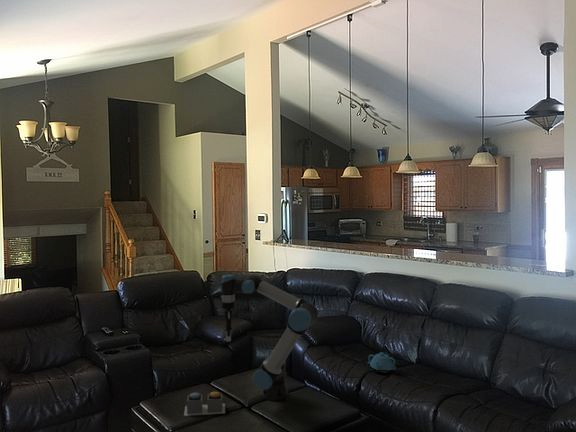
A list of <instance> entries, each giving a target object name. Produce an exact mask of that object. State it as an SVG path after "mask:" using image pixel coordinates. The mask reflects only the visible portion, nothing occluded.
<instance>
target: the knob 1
mask: <svg viewBox="0 0 576 432" xmlns="http://www.w3.org/2000/svg"><path fill="white" fill-rule="evenodd" d="M189 395H190V398H191V400H199V397H200V392H192V393H190V394H189Z"/></svg>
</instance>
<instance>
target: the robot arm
mask: <svg viewBox="0 0 576 432" xmlns="http://www.w3.org/2000/svg"><path fill="white" fill-rule="evenodd" d="M235 277H236V276H235V275H234V274H223V275H222V276H221V296H220V298H221V301H222V302H221V308H222V310H224V316H225V330H224V331H225V341H226V343H228V342H231V341H232V330H233V328H232V316H233V309H235V306H236V305H235V304H236V303H235V301H236V300H235V299H236V296H235V295H236V294H235V293H242V294H253V292H254V291H255V292H257V293H260V294H261V295H263V296H265V297H267V298H269V299H271V300H272V301H274V302H276V303H278V304H280V305H282V306H284V307H286V308H287V309H289V310H291V312H290V314H289V316H288V320H287V322H286V329H285V330H284V332H283V334H282V335H281V337H280V339H279V340H278V341H277V343H276V346H274V349H273V350H272V352H271V353H270V355H269V356H267V357H265V359H264V360H263V361H262V363H261V364H260V365H259V368H258V369H256V370H255V372H254V373H253V375H252V380H253V383H254V385H255V386H256V387H257V388H258V389H260V390H262V397H263V398H264V399H265V400H268V401H275V402H276V401H278V400H279V401H283V400H286V399H287V398H288V397H289V390H288V388H287V384H286V364H287V363H286V359H287V358H288V357H289V355H290V353H291V352H292V350H293V348H294V347H295V345H296V344H297V342H298V341H299V339H300V337H301V336H302V337H303V336H305V334H306V333H307V331H308V329H309V328H310V326H312V325H313V324H314V323H315V322H316V321H317V320H318V317H319V310H318V309H317V307H316V305H314V304H313V303H312V302H310V301H308V300H306V299H304V298H298V297H296V296H294V295H292V294H290V293H289V292H287V291H284V290H282V289H280V288H279V287H277V286H275V285H273V284H271V283H269V282H268V281H265V280H263V279H262V277H261V276H260V275H258V274H254V275H251V276H249V277H245V278H243V279H237V278H235ZM285 398H286V399H285Z"/></svg>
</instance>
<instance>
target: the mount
mask: <svg viewBox="0 0 576 432" xmlns="http://www.w3.org/2000/svg"><path fill="white" fill-rule="evenodd" d="M219 393H220V396H219V399H211V397H210V393H207V404H203V394H202V393H201V394H200V393H199V394H200V397H199V400H191V398H190V394H187V397H186V398H187V399H186V405H185V406H184V411H183V412H184V413H183V416H184V417H186V416H187V417H188V416H200V415H204V416H205V415H219V414H226V404H225V403H223V393H221V392H219Z"/></svg>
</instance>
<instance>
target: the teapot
mask: <svg viewBox="0 0 576 432" xmlns="http://www.w3.org/2000/svg"><path fill="white" fill-rule="evenodd" d="M371 357H372V358H371ZM395 363H396V359H395V358H393V357H390V356H389V355H388V354H385V353H384V352H379V353H376V354H375V355H374V354H370V355H368V362H367V363H366V364H370V366H371V367H372V368H374V369H376V370H392V371H396V370H397V367H396V364H395ZM370 366H369V367H370Z"/></svg>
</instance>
